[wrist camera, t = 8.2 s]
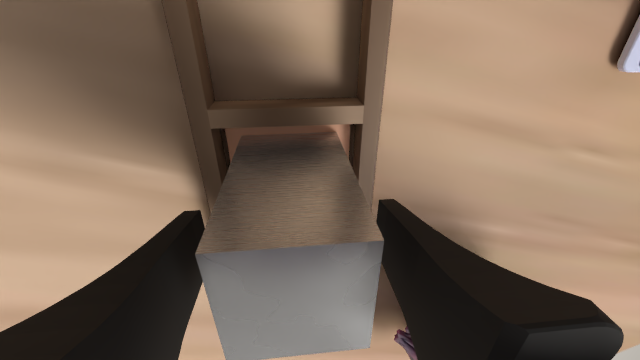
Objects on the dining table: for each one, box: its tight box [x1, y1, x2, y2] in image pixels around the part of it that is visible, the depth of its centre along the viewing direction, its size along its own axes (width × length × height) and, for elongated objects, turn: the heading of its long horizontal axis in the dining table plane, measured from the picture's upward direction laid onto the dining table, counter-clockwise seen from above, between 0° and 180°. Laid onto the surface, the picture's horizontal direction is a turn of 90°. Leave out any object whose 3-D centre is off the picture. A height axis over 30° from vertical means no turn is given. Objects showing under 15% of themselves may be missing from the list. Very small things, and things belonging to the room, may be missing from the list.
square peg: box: [195, 132, 384, 360], centre depth 12 cm, size 5×5×8 cm
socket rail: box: [162, 0, 393, 213], centre depth 11 cm, size 8×23×2 cm, turn 0°
